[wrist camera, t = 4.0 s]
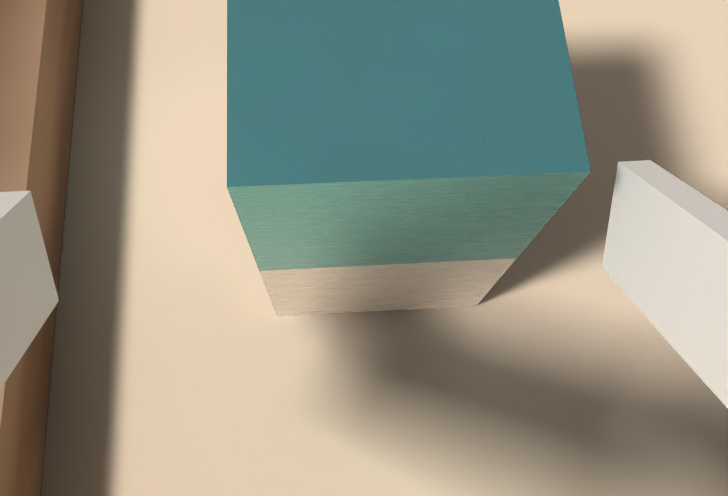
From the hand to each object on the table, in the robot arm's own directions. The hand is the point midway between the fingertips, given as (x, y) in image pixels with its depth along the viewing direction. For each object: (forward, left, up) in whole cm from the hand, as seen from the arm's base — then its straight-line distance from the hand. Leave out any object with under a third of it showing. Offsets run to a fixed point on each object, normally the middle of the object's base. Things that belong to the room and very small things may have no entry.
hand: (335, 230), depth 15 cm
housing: (-1, -3, -8) cm, 9 cm away
